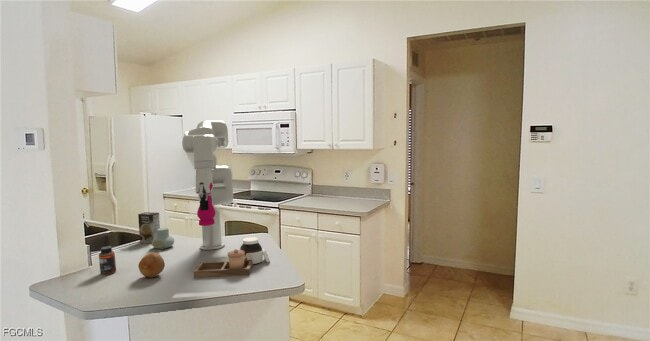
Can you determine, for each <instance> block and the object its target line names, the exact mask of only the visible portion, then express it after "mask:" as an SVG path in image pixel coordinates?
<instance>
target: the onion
mask: <svg viewBox="0 0 650 341" xmlns="http://www.w3.org/2000/svg"><path fill="white" fill-rule="evenodd" d="M165 264H166V263H165V261H164V259H163V257H162V255H161V254H159V253H157V252H154V251H152V252H149V253H147V254H145V255H144V256H143V257H142V258H141V259H140V261H139V263H138V265H137V266H138V270H139V272H140V274H141V275H142V276H144V277H147V278H154V277H157V276H158V275H160V274H162V273H163V271H164V269H165V266H166V265H165Z"/></svg>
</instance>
